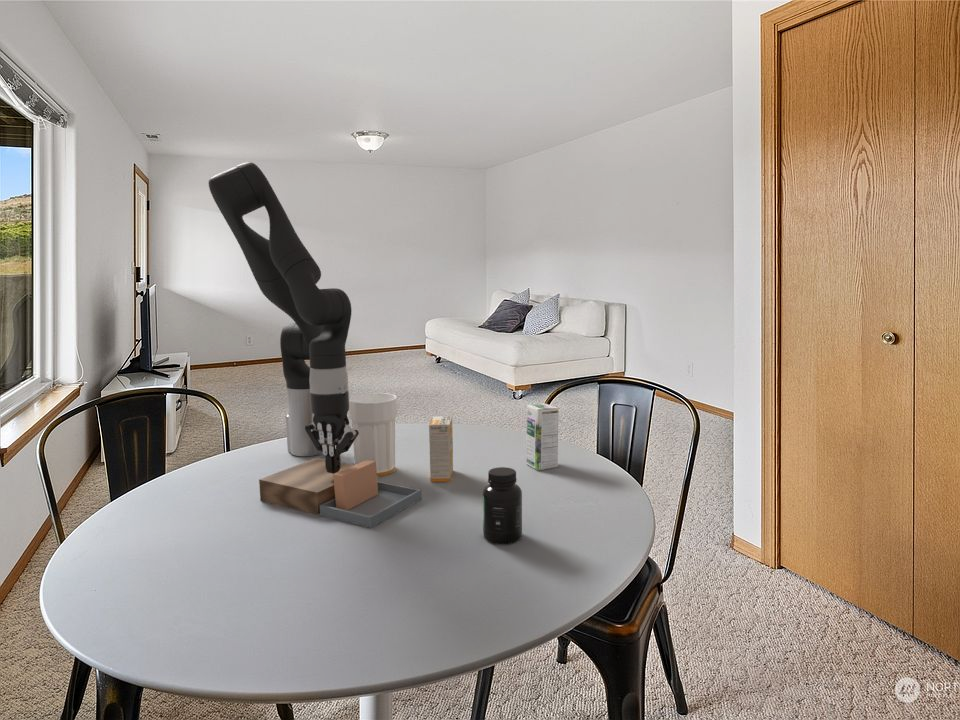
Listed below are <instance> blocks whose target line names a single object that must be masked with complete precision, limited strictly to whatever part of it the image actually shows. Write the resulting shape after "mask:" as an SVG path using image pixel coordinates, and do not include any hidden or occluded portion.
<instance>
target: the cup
mask: <svg viewBox="0 0 960 720" xmlns="http://www.w3.org/2000/svg"><path fill="white" fill-rule="evenodd" d="M347 415H348V419H349V420H350V421H351V428H352V429H353V430H358V432H359V434H358V436H357V437H356V439H355V440H354V442H353V444H352V445H353V454H354V455H353V456H354V465H357V464H359V463H361V462H363V461H366V460H367V461H376V472H377V478H379V477H384V476H387V475H391V474H392V473H394V471H395V470H396V418H397V417H398V396H397V395H395V394H392V393H387V392H369V393H368V392H367V393H360V394H355V395H352V396H349V410H348V413H347Z"/></svg>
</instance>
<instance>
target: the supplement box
mask: <svg viewBox="0 0 960 720" xmlns="http://www.w3.org/2000/svg"><path fill="white" fill-rule="evenodd" d="M428 435H429V439H428V440H429V467H430V468H429V469H430V470H429V471H430V472H429V473H430V475H429V476H430V482H431V483H439V482H440V483H447V482H448V483H449V482H451V481H452V476H453V475H452V474H453V471H454V450H453V449H454V440H453V439H454V437H453V416H450V415H448V416H447V415H443V416H442V415H441V416H440V415H439V416H438V415H437V416H436V415H435V416H432V417H431V420H430V422H429V424H428Z"/></svg>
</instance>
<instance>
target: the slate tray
mask: <svg viewBox="0 0 960 720" xmlns="http://www.w3.org/2000/svg"><path fill="white" fill-rule="evenodd" d="M377 483H378V495H376V496H374V497H372V498H370V499H368V500H366V501H364V502H362V503H360V504H359V505H357V506H355V507H353V508H351V509H349V510H342V509H338V508H336V500H335V498H334V499H332V500H330V501H328V502H326V503H324V504H322V505H320V514H319V515H320V517H321V516H322V517H326V518H330V519H334V520H337V521H341V522H345V523H350V524H354V525H358V526H362V527H366V528H370V529H371V528H374V527H376V526H377V525H379V524H381V523H382V522H384V521H386V520H388V519H389V518H391V517H393V516H394V515H396V514H398V513H400V512H401V511H403V510H405V509H407V508H409V507H411V506H413V504H416V503H417V502H419V501H421V500H422V490H421V489H419V488H413V487H407V486H403V485H397V484H393V483H388V482H385V481H384V482H382V481H378V480H377Z"/></svg>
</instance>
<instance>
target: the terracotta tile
mask: <svg viewBox="0 0 960 720" xmlns="http://www.w3.org/2000/svg"><path fill="white" fill-rule="evenodd" d="M333 479H334V489H335V500H336V508H338V509H342V510H349V509H351V508H353V507H355V506H357V505H359V504H360V503H362V502H364V501H366V500H368V499H370V498H372V497H374V496H376V495H378V483H377V481H378V477H377V472H376V461H367V460H366V461H363V462H361V463H359V464H357V465H355V464H354V466H352V467H350V468H347V469H345V470H343V471H340V472H338V473H336V474H333Z"/></svg>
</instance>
